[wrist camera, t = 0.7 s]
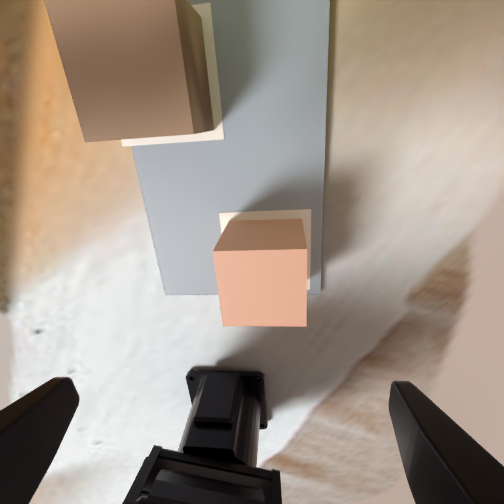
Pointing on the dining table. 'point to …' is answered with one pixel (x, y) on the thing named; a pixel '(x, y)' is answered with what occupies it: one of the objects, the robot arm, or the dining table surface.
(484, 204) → the dining table surface
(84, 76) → the block
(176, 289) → the board
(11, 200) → the dining table surface
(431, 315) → the dining table surface
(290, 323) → the terracotta block
